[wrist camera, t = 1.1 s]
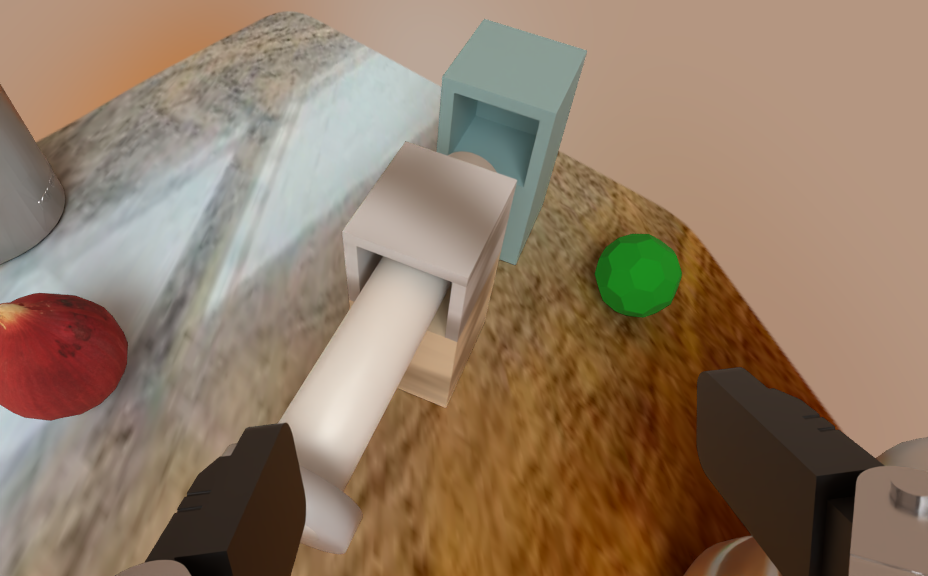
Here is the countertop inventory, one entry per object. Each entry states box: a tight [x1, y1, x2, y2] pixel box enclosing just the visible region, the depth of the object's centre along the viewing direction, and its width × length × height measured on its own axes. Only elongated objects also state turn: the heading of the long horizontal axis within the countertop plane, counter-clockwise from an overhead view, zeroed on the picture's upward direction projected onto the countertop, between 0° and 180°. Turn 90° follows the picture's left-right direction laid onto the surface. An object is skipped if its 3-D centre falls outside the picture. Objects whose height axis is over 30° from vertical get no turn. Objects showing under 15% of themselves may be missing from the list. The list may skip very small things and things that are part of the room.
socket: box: [437, 19, 587, 265], centre depth 36 cm, size 6×6×12 cm
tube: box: [221, 151, 497, 554], centre depth 25 cm, size 18×5×5 cm, turn 159°
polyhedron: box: [595, 234, 682, 318], centre depth 37 cm, size 5×5×5 cm
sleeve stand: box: [342, 141, 517, 408], centre depth 30 cm, size 6×5×12 cm
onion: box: [0, 293, 128, 421], centre depth 28 cm, size 6×6×8 cm
